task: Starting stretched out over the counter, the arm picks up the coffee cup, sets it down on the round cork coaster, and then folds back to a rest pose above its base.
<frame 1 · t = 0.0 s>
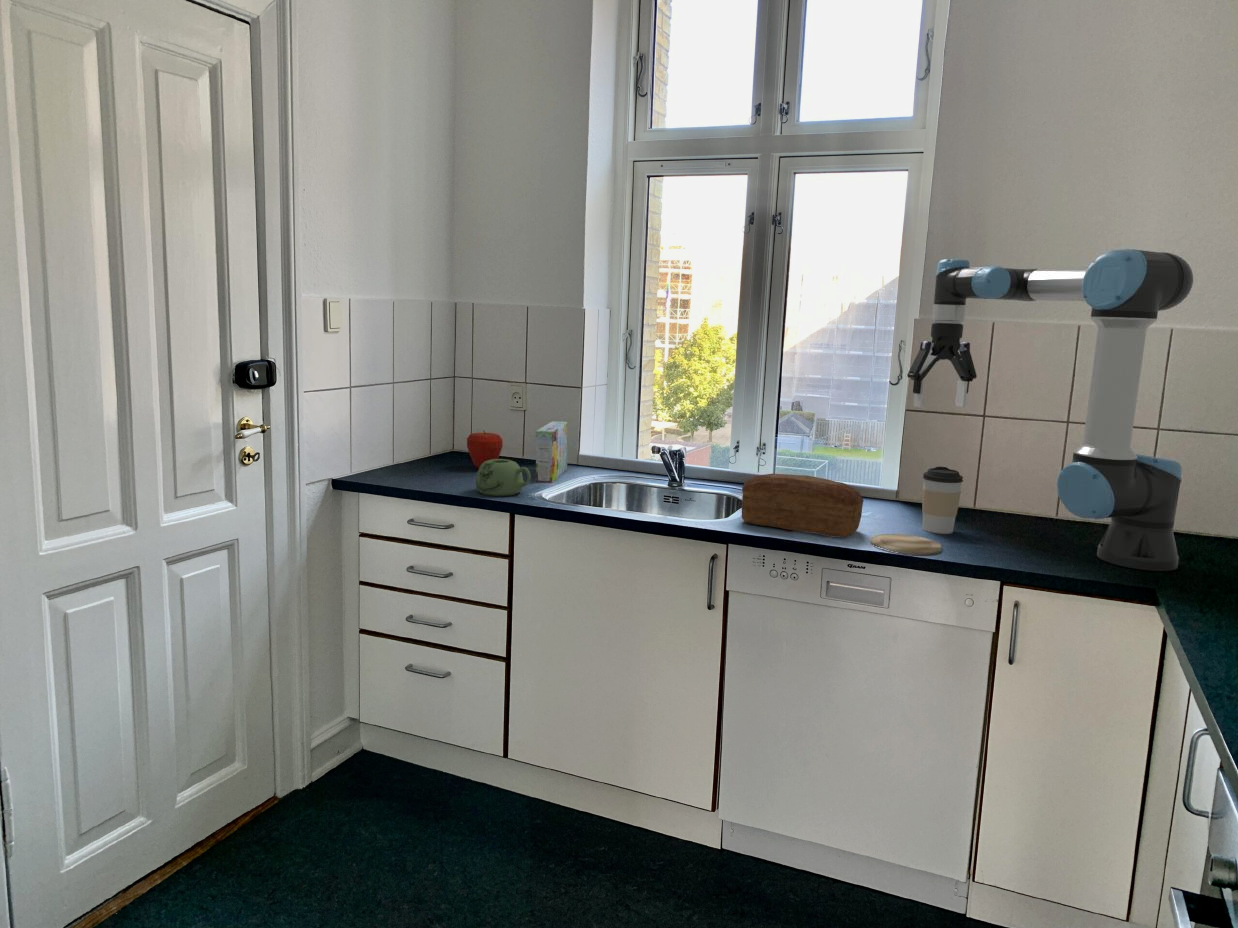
hand: (939, 406, 225), 28 cm above the counter, fingers open, 13 cm apart
bread: (798, 528, 210), on the counter
coffee cup: (937, 530, 212), on the counter
snack box: (551, 476, 263), on the counter
mug: (504, 493, 237), on the counter
coaster: (905, 545, 196), on the counter
apple: (484, 469, 270), on the counter
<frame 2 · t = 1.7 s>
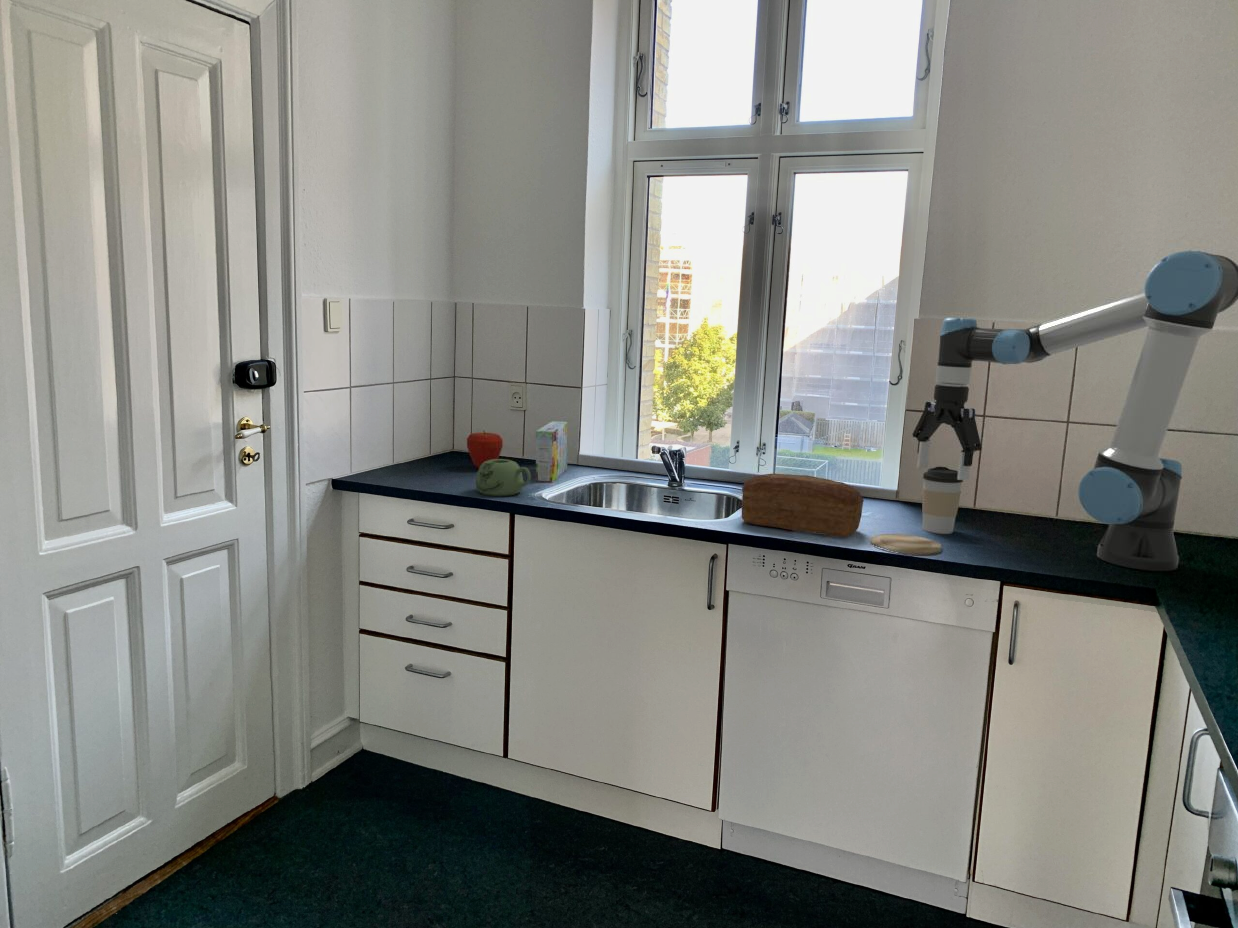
hand: (941, 473, 210), 14 cm above the counter, fingers open, 13 cm apart
nothing on the counter moved.
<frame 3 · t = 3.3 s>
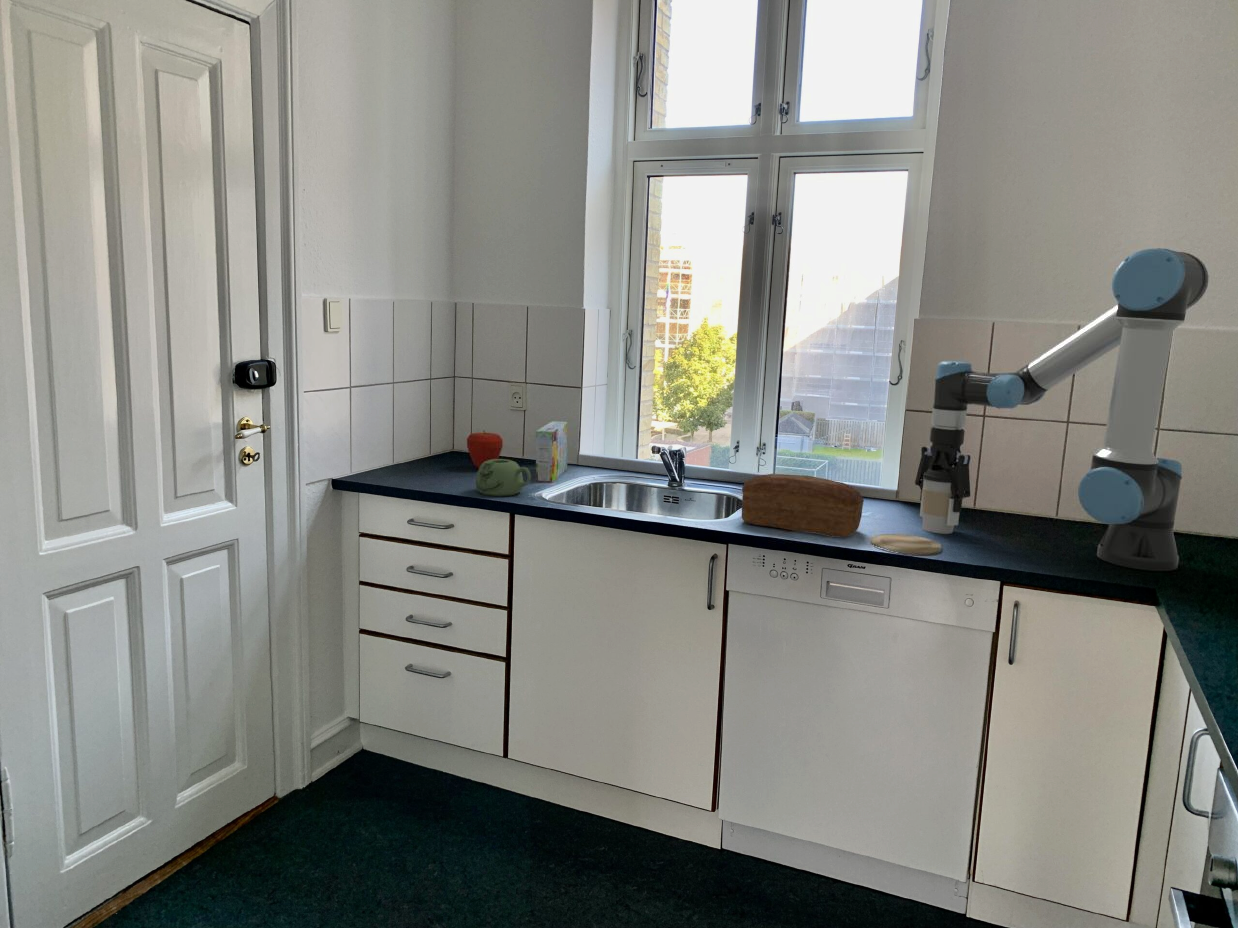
hand: (938, 520, 212), 2 cm above the counter, fingers closed on coffee cup, 8 cm apart
coffee cup: (937, 530, 212), on the counter, touching gripper
everything else where it was.
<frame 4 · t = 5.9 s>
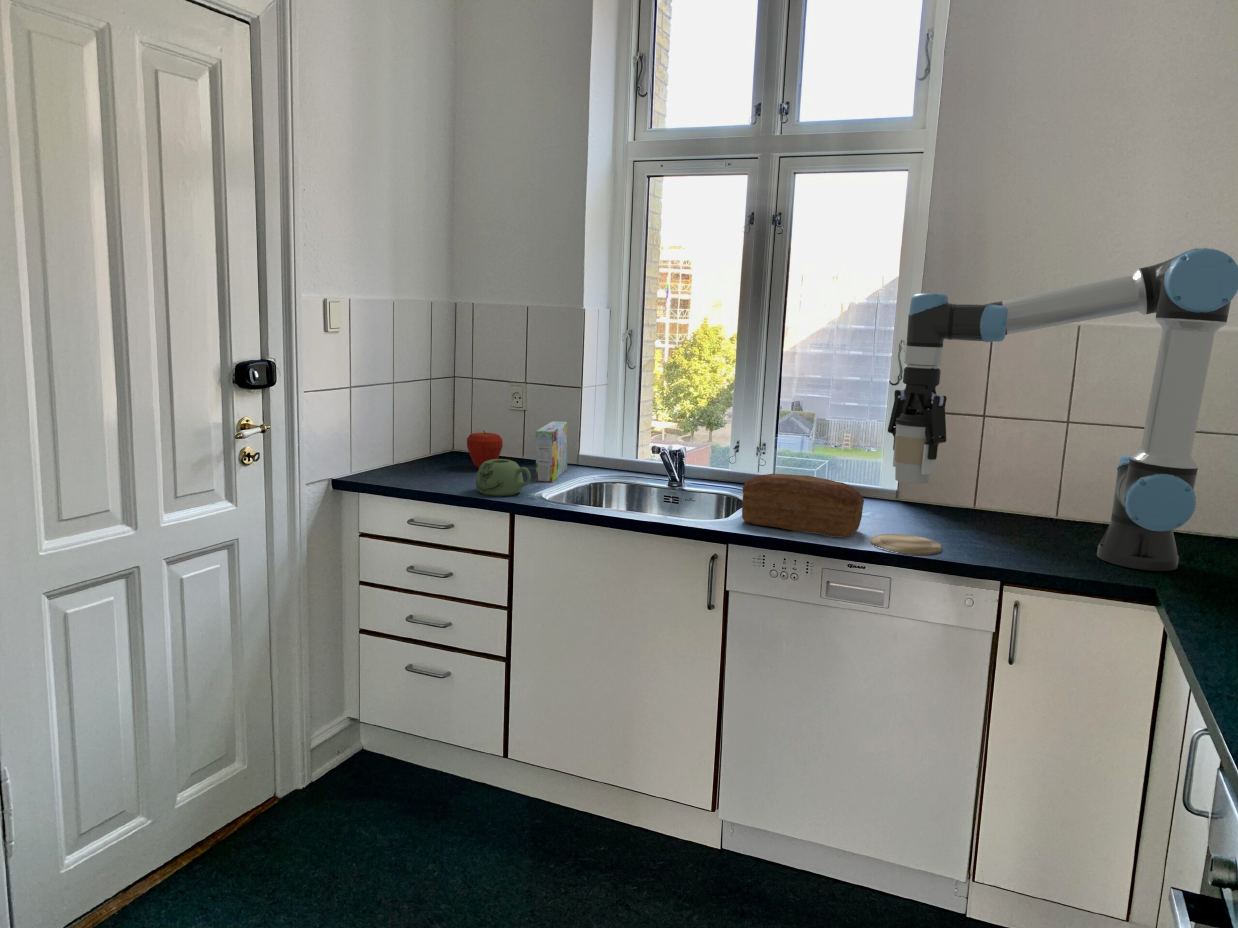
hand: (912, 470, 194), 17 cm above the counter, fingers closed on coffee cup, 8 cm apart
coffee cup: (911, 481, 194), point 15 cm above the counter, touching gripper
everything else where it was.
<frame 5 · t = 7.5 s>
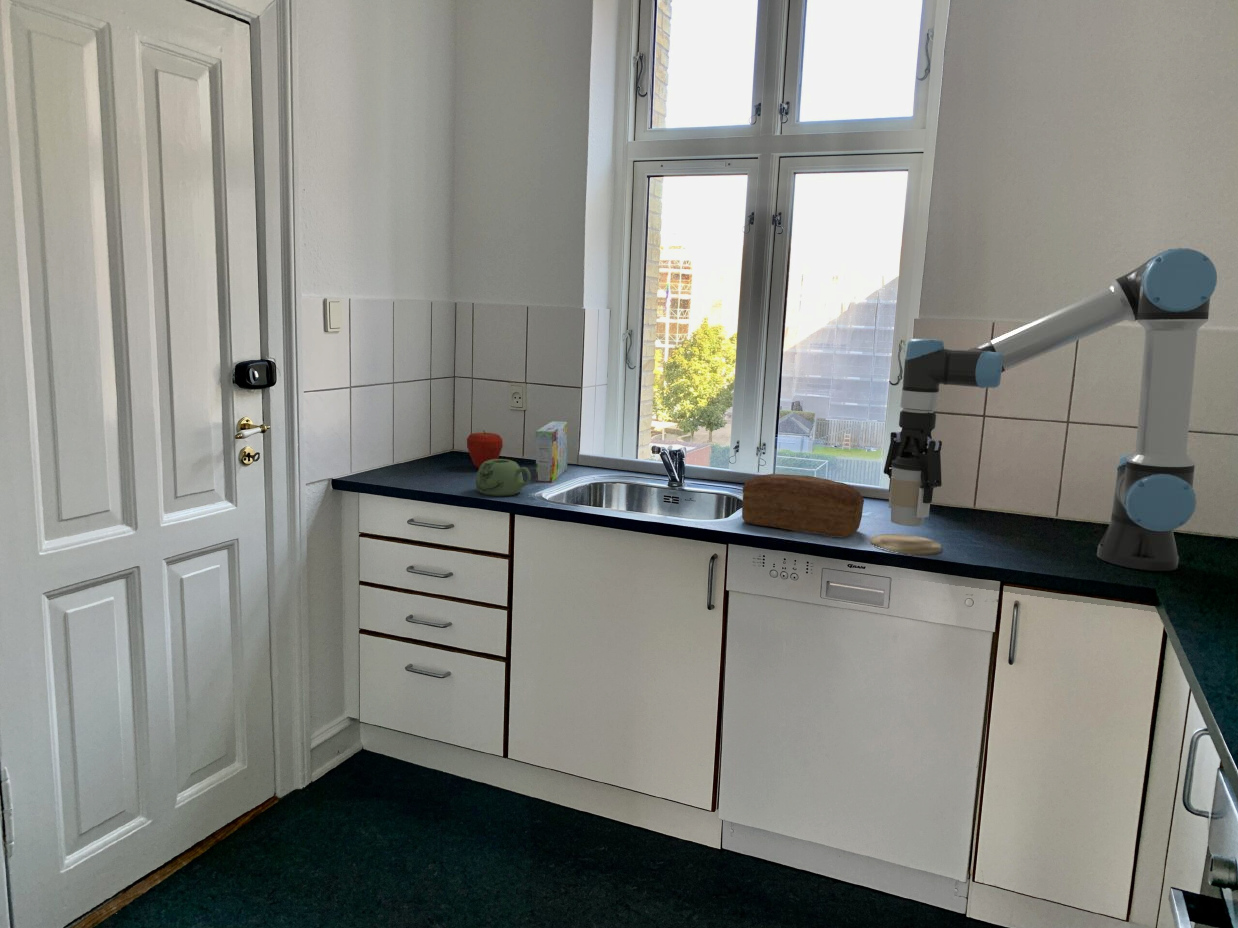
hand: (908, 512, 195), 8 cm above the counter, fingers closed on coffee cup, 8 cm apart
coffee cup: (906, 523, 196), point 5 cm above the counter, touching gripper
everything else where it was.
when the fingers open (4 cm above the counter, at t = 8.7 s): coffee cup stays where it is, resting on coaster.
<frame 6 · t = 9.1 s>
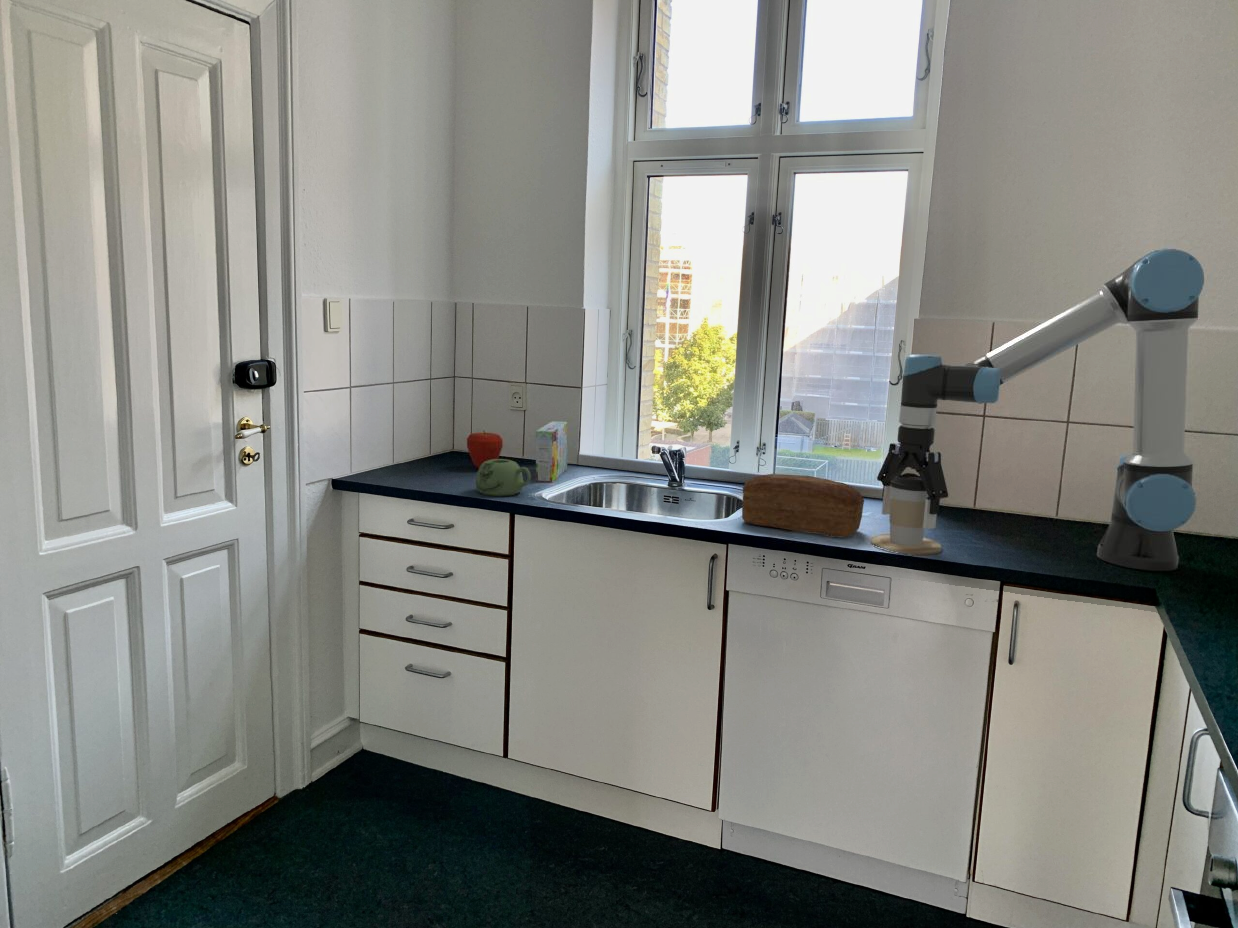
hand: (907, 521, 195), 6 cm above the counter, fingers open, 13 cm apart
coffee cup: (905, 542, 196), point 1 cm above the counter, touching coaster
everything else where it was.
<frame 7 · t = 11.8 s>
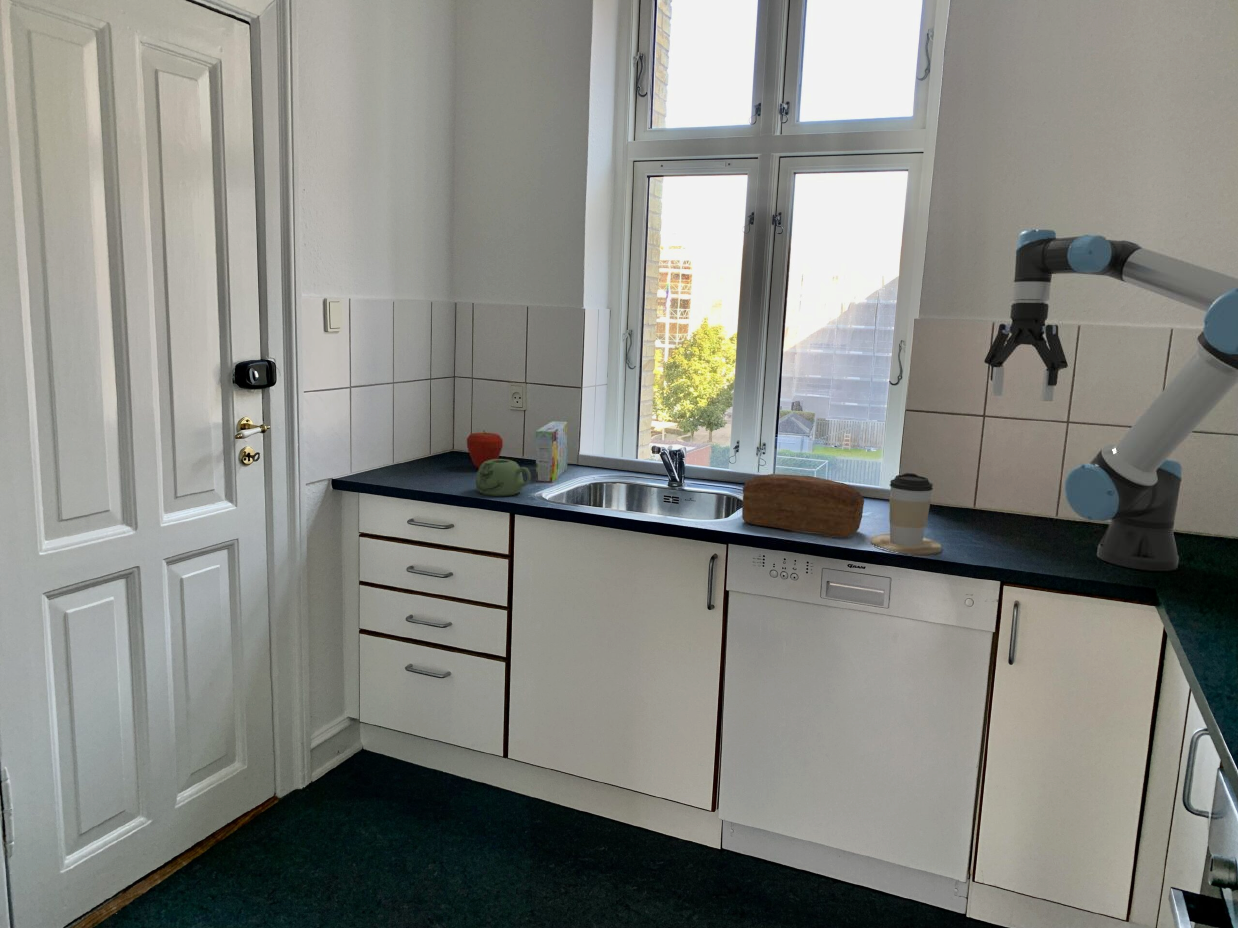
hand: (1020, 398, 199), 33 cm above the counter, fingers open, 13 cm apart
nothing on the counter moved.
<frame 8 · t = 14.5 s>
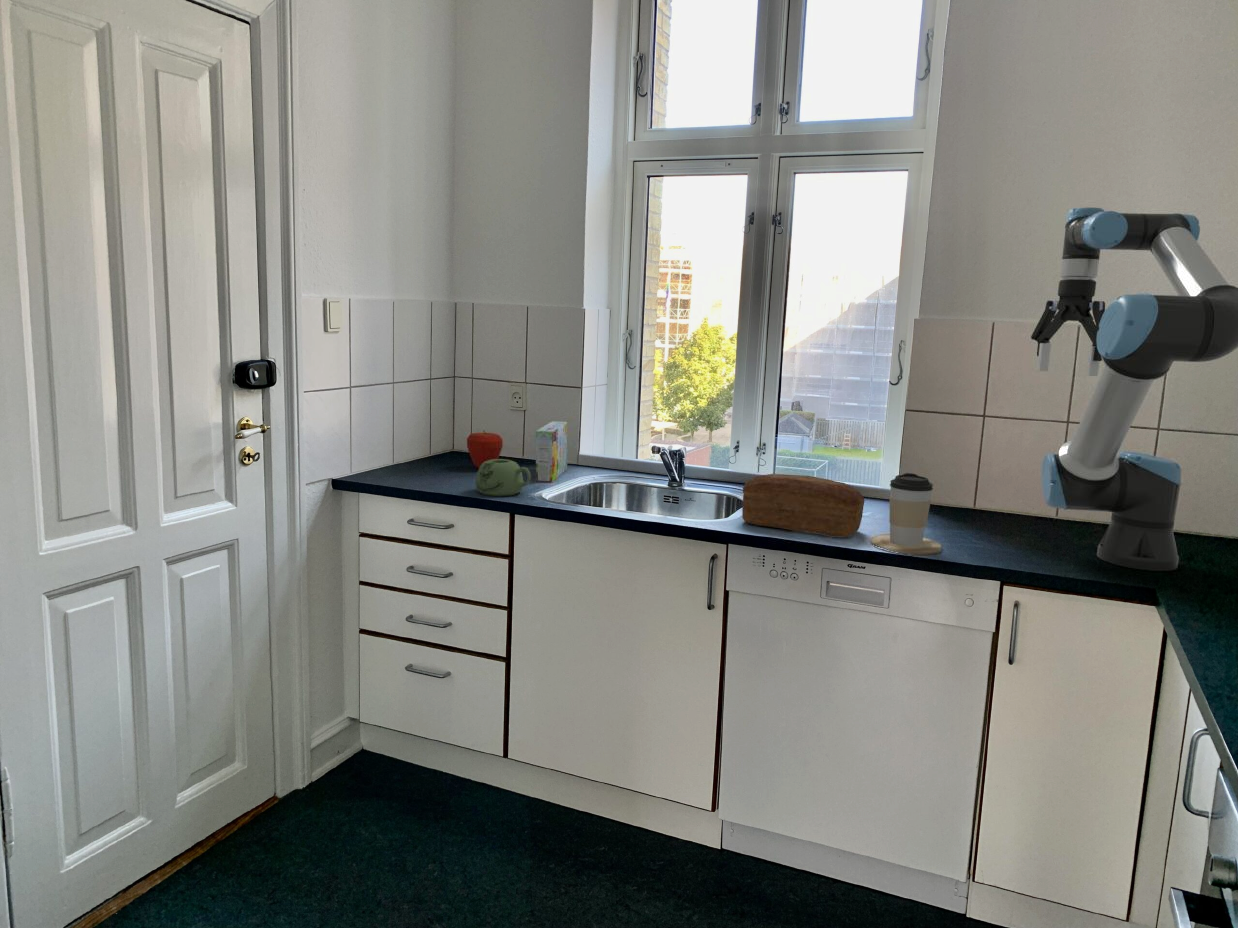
hand: (1066, 373, 203), 39 cm above the counter, fingers open, 13 cm apart
nothing on the counter moved.
at the end: coffee cup 0.0 cm from the coaster (horizontally); coffee cup tilted 0°; the gripper is holding nothing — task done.
